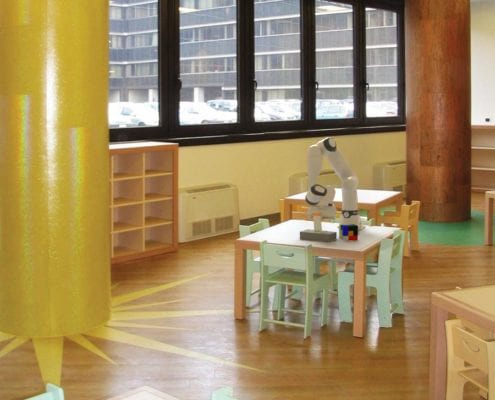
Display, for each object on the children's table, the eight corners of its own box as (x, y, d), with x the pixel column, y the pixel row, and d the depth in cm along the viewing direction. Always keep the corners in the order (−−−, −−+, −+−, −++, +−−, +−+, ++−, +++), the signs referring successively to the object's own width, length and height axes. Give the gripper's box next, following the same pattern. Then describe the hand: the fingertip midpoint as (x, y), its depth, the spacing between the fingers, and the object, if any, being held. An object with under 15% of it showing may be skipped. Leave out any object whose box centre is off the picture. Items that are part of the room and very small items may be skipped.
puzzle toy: (343, 241, 561) (343, 226, 560) (339, 238, 571) (339, 224, 570) (357, 240, 563) (358, 225, 562) (353, 237, 573) (353, 223, 572)
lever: (314, 229, 569) (313, 211, 566) (322, 230, 566) (321, 212, 562) (313, 230, 567) (311, 212, 563) (321, 231, 564) (319, 213, 560)
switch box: (307, 236, 578) (307, 228, 578) (336, 239, 567) (336, 231, 567) (299, 238, 568) (299, 231, 568) (328, 241, 557) (329, 234, 556)
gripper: (309, 202, 576) (302, 218, 570) (336, 204, 566) (329, 221, 559) (312, 208, 581) (305, 224, 574) (338, 210, 570) (332, 226, 564)
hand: (317, 222), depth 566 cm, fingers closed, pressing on lever
